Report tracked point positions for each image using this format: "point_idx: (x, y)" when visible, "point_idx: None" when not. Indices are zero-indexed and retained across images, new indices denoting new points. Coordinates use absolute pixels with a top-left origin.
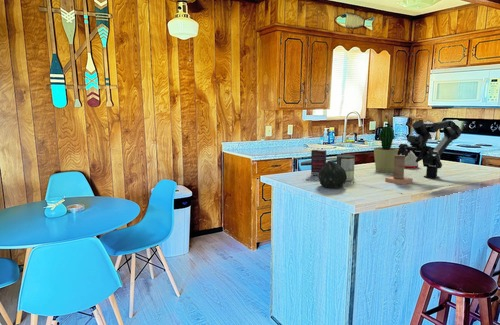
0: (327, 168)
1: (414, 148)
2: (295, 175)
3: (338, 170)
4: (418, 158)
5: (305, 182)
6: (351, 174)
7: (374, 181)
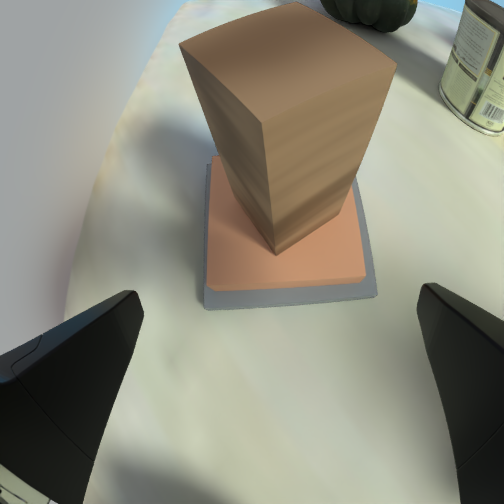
0: None
1: None
2: None
3: None
4: (78, 314)
5: (435, 21)
6: (450, 75)
7: (404, 160)
